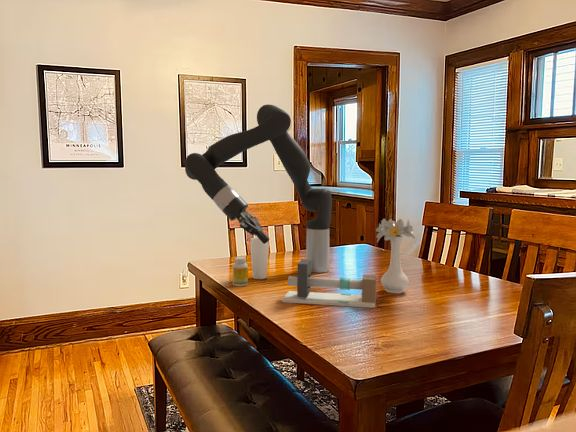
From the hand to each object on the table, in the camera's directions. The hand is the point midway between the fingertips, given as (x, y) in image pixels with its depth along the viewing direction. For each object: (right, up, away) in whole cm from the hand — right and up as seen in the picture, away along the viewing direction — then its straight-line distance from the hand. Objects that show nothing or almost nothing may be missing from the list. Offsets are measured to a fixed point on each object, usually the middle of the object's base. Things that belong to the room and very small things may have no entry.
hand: (267, 241), depth 159 cm
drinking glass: (-4, -15, +28) cm, 32 cm away
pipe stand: (+20, -19, -2) cm, 27 cm away
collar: (+12, -17, 0) cm, 20 cm away
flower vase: (+42, -18, +11) cm, 47 cm away
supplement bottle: (-10, -16, +18) cm, 26 cm away
